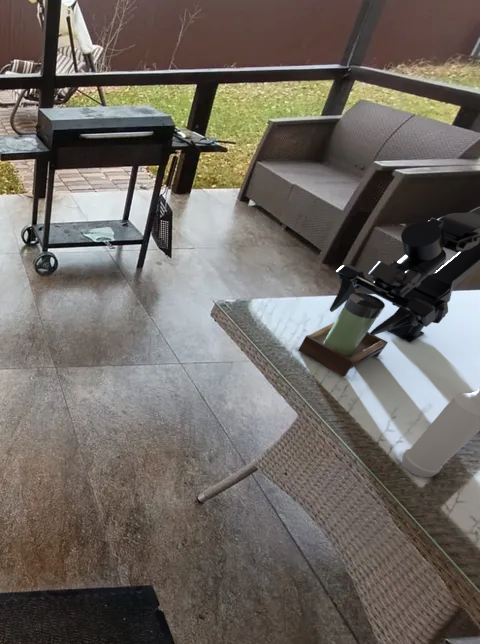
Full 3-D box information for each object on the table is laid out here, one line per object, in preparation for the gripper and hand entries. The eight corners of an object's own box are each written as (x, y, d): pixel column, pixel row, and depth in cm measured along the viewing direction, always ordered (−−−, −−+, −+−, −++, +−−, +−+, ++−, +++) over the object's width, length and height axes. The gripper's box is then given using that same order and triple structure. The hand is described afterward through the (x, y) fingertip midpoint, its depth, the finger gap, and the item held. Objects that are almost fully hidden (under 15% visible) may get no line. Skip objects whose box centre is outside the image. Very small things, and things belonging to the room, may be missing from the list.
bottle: (392, 455, 87) (479, 356, 72) (418, 453, 88) (510, 353, 73) (415, 479, 83) (512, 379, 68) (443, 477, 84) (545, 377, 68)
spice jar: (342, 337, 110) (370, 291, 102) (361, 355, 105) (392, 308, 97) (316, 338, 110) (343, 293, 102) (334, 356, 105) (363, 309, 97)
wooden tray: (332, 332, 116) (341, 318, 114) (378, 356, 109) (388, 342, 106) (297, 350, 111) (305, 336, 108) (343, 377, 104) (352, 362, 101)
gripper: (362, 230, 101) (304, 284, 104) (462, 272, 87) (390, 333, 91) (369, 255, 108) (314, 305, 111) (462, 298, 94) (395, 353, 98)
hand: (350, 322), depth 103 cm, fingers open, 9 cm apart
